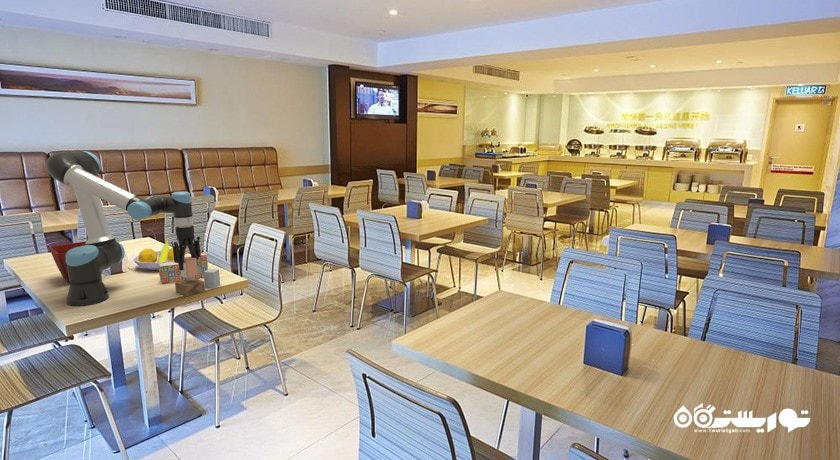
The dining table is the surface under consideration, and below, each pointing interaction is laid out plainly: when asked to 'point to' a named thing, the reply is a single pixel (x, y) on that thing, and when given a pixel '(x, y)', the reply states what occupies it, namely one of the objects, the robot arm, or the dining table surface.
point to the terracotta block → (191, 266)
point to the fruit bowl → (154, 257)
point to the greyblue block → (211, 278)
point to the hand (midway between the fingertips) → (189, 274)
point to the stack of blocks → (173, 274)
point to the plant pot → (63, 256)
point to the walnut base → (190, 286)
